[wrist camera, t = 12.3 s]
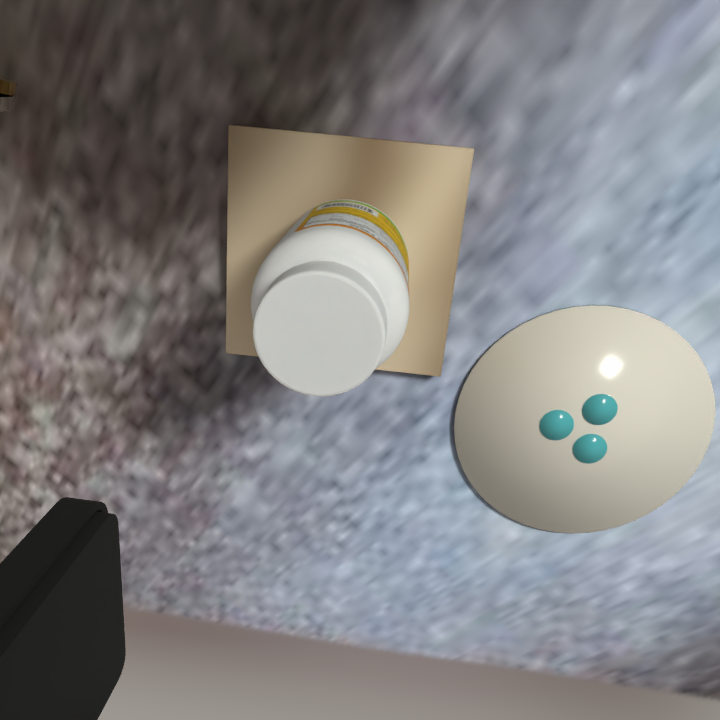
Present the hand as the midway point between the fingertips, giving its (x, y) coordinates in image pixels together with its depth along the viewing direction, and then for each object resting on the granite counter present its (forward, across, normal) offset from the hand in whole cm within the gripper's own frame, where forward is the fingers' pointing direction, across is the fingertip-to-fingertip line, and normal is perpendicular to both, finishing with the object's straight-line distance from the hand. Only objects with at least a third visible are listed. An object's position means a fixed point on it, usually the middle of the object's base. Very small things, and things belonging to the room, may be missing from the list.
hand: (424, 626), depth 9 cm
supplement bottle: (+20, +3, 0) cm, 21 cm away
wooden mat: (+21, +4, 0) cm, 21 cm away
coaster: (+21, -8, +6) cm, 24 cm away
